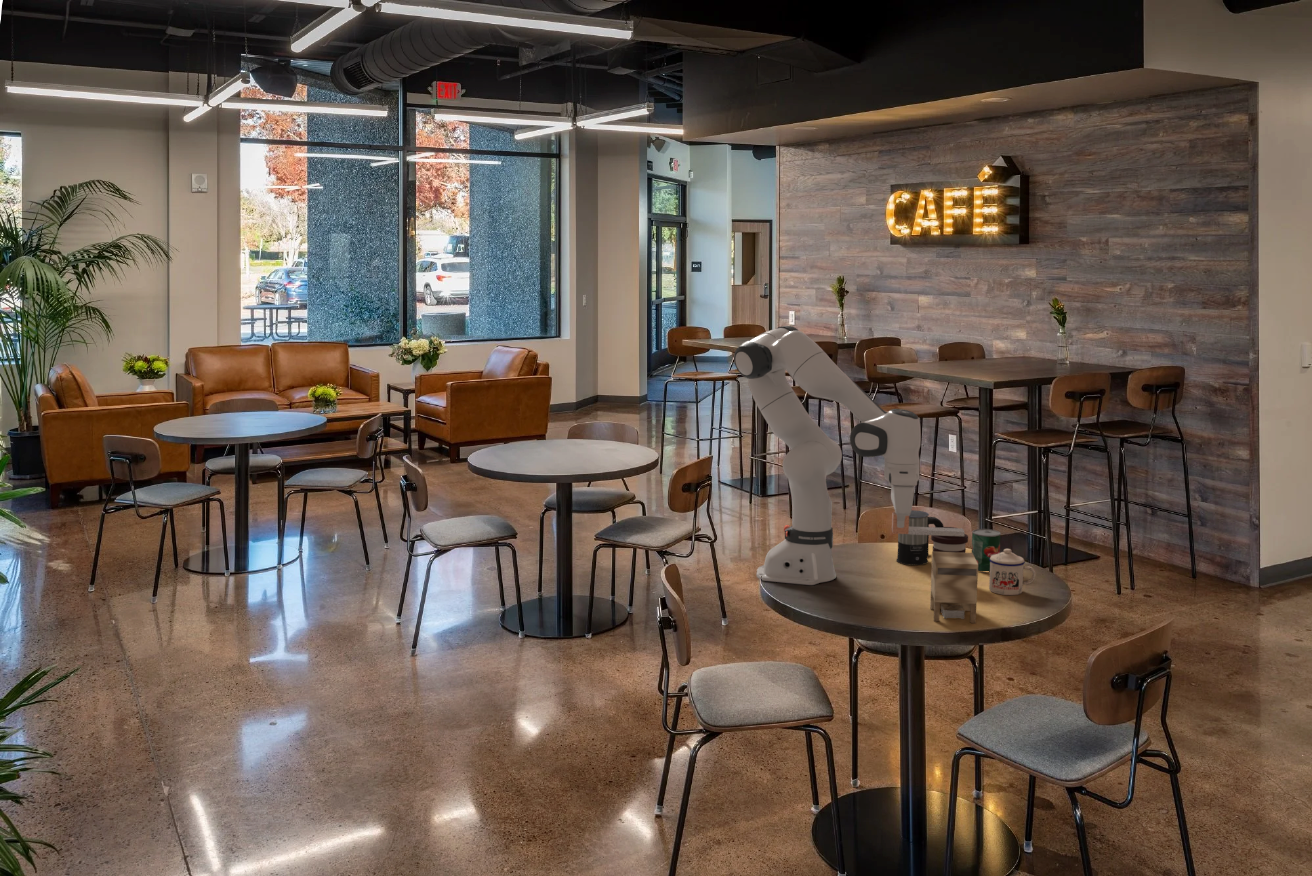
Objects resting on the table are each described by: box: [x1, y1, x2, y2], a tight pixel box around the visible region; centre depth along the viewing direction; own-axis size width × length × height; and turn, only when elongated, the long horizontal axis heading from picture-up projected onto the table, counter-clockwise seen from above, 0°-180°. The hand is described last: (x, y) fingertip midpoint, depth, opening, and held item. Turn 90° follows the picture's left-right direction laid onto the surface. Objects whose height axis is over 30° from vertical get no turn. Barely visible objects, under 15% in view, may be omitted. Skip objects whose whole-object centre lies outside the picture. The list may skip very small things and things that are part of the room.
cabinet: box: [929, 550, 979, 624], centre depth 277 cm, size 10×11×15 cm
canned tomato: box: [971, 528, 1002, 572], centre depth 320 cm, size 8×8×11 cm
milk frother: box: [896, 510, 945, 566], centre depth 331 cm, size 14×16×15 cm
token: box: [940, 604, 966, 620], centre depth 278 cm, size 5×5×2 cm
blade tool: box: [891, 511, 966, 536], centre depth 284 cm, size 18×4×5 cm, turn 82°
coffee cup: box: [930, 526, 969, 553], centre depth 307 cm, size 10×10×15 cm
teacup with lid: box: [988, 548, 1037, 596], centre depth 298 cm, size 12×9×12 cm
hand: (899, 525), depth 285 cm, fingers closed on blade tool, 3 cm apart
